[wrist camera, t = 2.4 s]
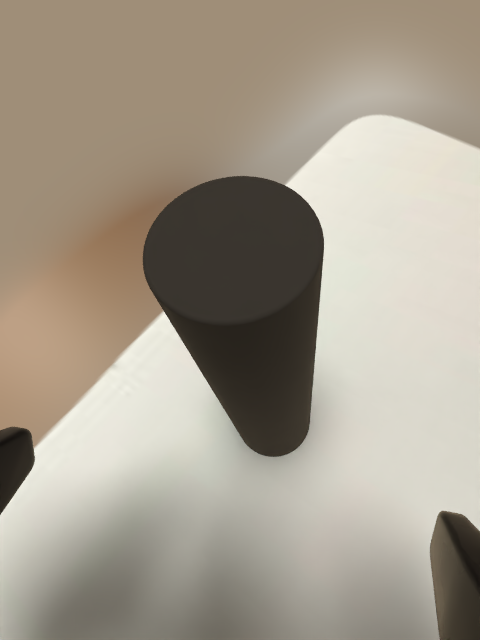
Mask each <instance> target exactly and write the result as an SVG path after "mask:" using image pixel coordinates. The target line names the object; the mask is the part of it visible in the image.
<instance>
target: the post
mask: <svg viewBox="0 0 480 640" xmlns="http://www.w3.org/2000/svg"><path fill="white" fill-rule="evenodd" d="M323 253H324V237H323V232H322V228H321V225H320V222H319V219H318V218H317V216H316V214H315V212H314V211H313V209H312V208H311V207H310V205H309V204H308V203H307V202H306V201H305V200H304V199H303V198H302V197H301V196H300V195H299V194H297V193H296V192H295V191H293V190H292V189H290V188H288V187H286V186H285V185H282V184H280V183H277V182H275V181H272V180H268V179H264V178H258V177H249V176H236V177H235V176H234V177H226V178H221V179H216V180H212V181H209V182H206V183H203V184H200V185H198V186H196V187H194V188H192V189H190V190H188V191H186V192H184V193H183V194H181V195H180V196H178V197H177V198H176V199H174V200H173V201H172V202H171V203H170V204H168V205H167V207H165V209H164V210H163V211H162V212H161V213H160V214H159V215H158V217H157V218H156V220H155V221H154V223H153V225H152V226H151V228H150V230H149V232H148V235H147V238H146V241H145V245H144V251H143V268H144V273H145V277H146V280H147V283H148V285H149V287H150V289H151V291H152V292H153V294H154V296H155V297H156V299H157V301H158V302H159V304H160V305H161V307H162V309H163V310H164V312H165V314H166V315H167V317H168V318H169V320H170V322H171V323H172V325H173V327H174V328H175V330H176V331H177V333H178V335H179V336H180V338H181V340H182V341H183V343H184V344H185V346H186V348H187V349H188V351H189V353H190V354H191V356H192V357H193V359H194V361H195V362H196V364H197V366H198V367H199V369H200V371H201V372H202V374H203V375H204V377H205V379H206V380H207V382H208V384H209V385H210V387H211V388H212V390H213V392H214V393H215V395H216V397H217V398H218V400H219V401H220V403H221V405H222V406H223V408H224V410H225V411H226V413H227V414H228V416H229V418H230V419H231V421H232V423H233V424H234V426H235V427H236V429H237V431H238V432H239V434H240V436H241V437H242V439H243V440H244V442H245V443H246V444H247V445H248V446H249V447H250V448H251V449H252V450H254V451H255V452H257V453H259V454H262V455H265V456H273V457H274V456H282V455H285V454H288V453H290V452H292V451H293V450H295V449H296V448H297V447H298V446H300V444H301V443H302V442H303V440H304V439H305V437H306V435H307V432H308V429H309V422H310V410H311V398H312V386H313V374H314V362H315V350H316V338H317V326H318V314H319V302H320V290H321V278H322V265H323Z"/></svg>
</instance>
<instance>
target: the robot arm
mask: <svg viewBox="0 0 480 640" xmlns="http://www.w3.org/2000/svg"><path fill="white" fill-rule="evenodd" d="M34 461H35V456H34V449H33V442H32V435H31V433H30V431H29V430H27V429H24V428H18V427H9V428H6V429H3V430H0V515H1V513H2V512H3V510H4V509H5V507H6V506H7V504H8V503H9V502H10V500H11V499H12V497H13V496H14V494H15V493H16V491H17V490H18V488H19V487H20V486H21V484H22V483H23V481H24V480H25V478H26V477H27V475H28V474H29V473H30V471H31V469H32V467H33V465H34ZM430 559H431V568H432V577H433V586H434V595H435V603H436V612H437V621H438V629H439V637H440V640H480V531H479V530H478V529H477V528H476V527H475V526H474V525H473V524H472V523H471V522H470V521H469V520H468V519H467V518H466V517H465V516H464V515H462V514H458V513H452V512H447V511H441V512H440V513H439V514H438V517H437V520H436V524H435V528H434V532H433V536H432V540H431V544H430Z"/></svg>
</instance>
